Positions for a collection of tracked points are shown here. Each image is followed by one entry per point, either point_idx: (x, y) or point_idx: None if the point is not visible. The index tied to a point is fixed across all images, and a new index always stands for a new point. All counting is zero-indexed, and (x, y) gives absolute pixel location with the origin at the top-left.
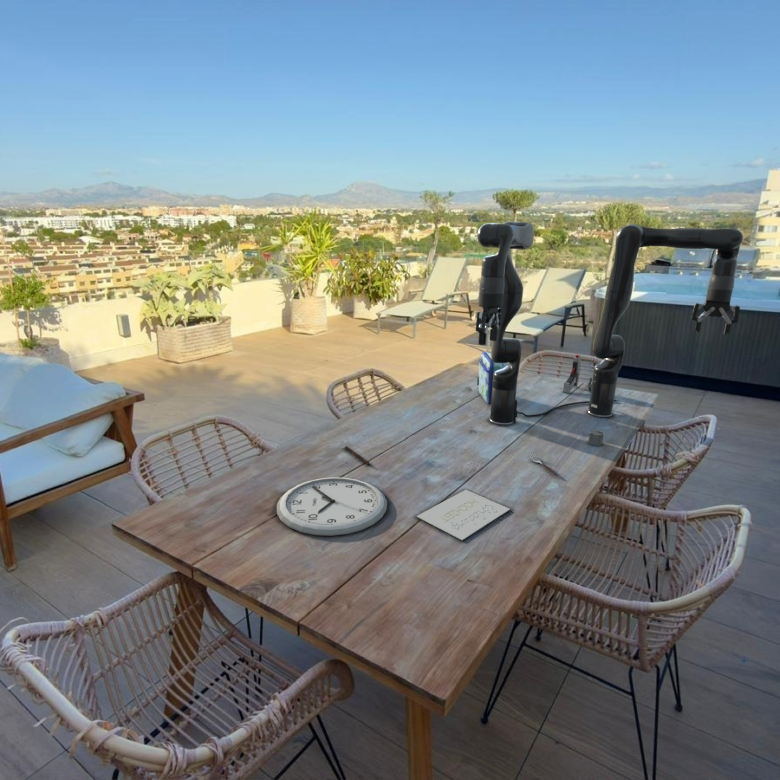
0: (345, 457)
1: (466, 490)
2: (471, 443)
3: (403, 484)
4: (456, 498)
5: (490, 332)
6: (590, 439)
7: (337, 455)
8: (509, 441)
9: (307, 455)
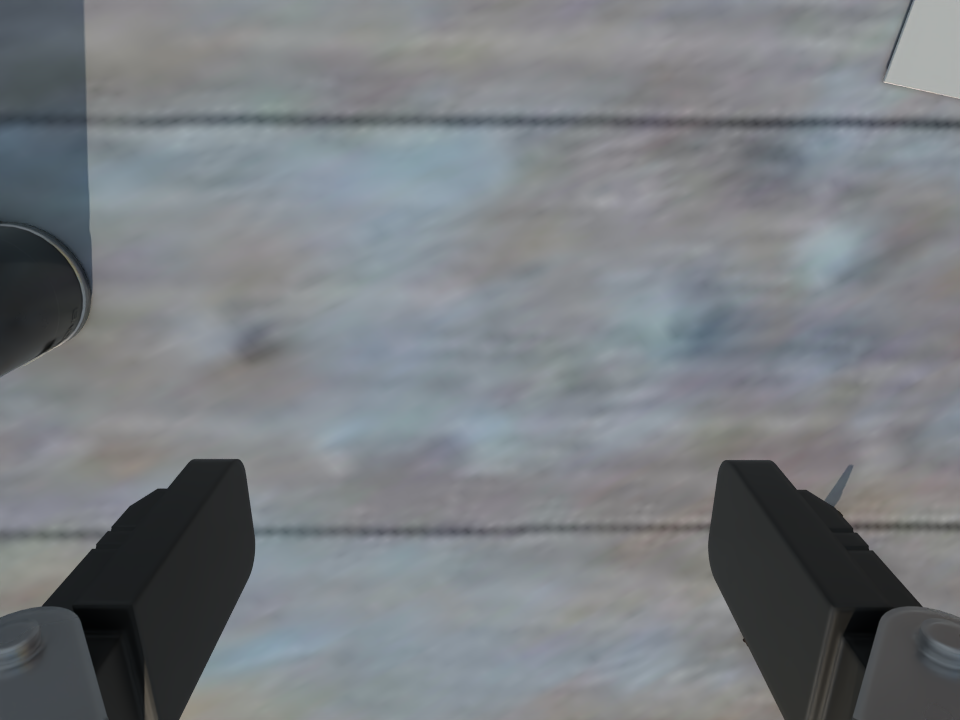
0: None
1: (891, 74)
2: (394, 287)
3: (929, 323)
4: None
5: (198, 671)
6: None
7: None
8: (243, 140)
9: None
